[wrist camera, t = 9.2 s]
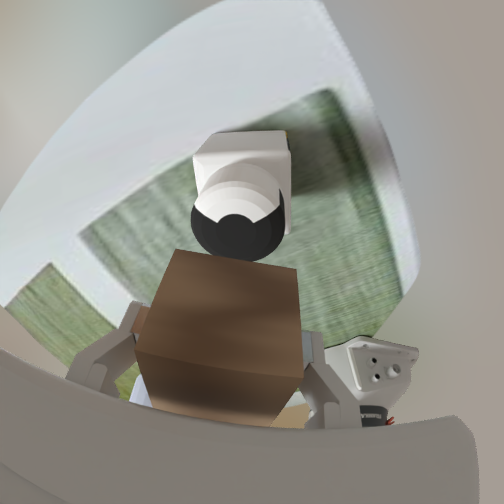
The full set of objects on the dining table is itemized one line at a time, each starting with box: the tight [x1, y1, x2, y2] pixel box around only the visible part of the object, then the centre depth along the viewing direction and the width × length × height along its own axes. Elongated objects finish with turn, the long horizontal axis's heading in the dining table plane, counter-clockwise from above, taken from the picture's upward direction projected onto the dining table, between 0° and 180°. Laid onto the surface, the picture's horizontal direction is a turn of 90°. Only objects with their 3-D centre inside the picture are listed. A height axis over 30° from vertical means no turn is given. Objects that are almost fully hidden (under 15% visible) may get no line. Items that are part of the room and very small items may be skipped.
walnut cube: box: [134, 249, 304, 427], centre depth 11 cm, size 5×5×5 cm
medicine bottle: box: [191, 130, 291, 262], centre depth 22 cm, size 7×7×12 cm
